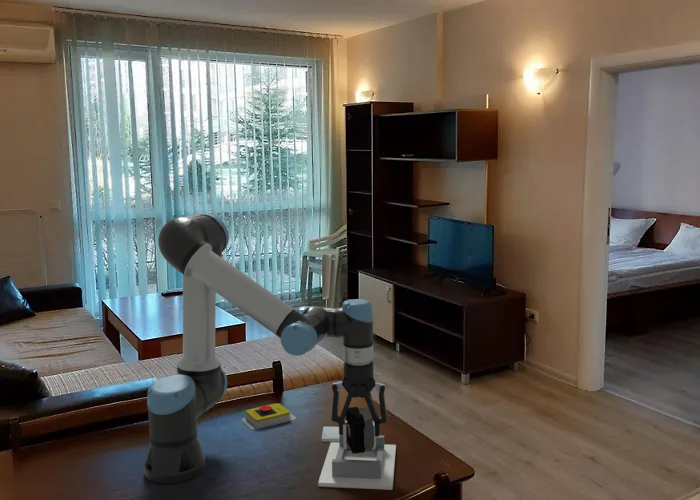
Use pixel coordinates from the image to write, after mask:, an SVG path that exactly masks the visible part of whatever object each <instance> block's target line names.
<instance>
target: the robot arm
mask: <svg viewBox="0 0 700 500" xmlns="http://www.w3.org/2000/svg"><path fill="white" fill-rule="evenodd" d="M157 239H158V243H157V244H158V248H159V251H160V253H161V255H162V257H163V258H164V260H166V262H167V263H168V264H169V265H170V266H171V267H173V268H174V269H175V270H177V271H178V272H179V273H180V274H181V275H182V357H181V358H180V359H179V360H178V361H177V363H176V374H171V375H170V374H169V375H167V376H166V377H164V376H163V377H161V378H158V379H157V380H155V381H153V383H151V384H150V386H149V388H148V391H147V399H146V406H147V412H148V414H147V415H148V417H147V418H148V427H149V428H148V430H149V433H148V434H149V447H148V451H147V453H146V458H145V462H144V465H143V466H144V467H143V469H144V477H145V478H146V479H147V480H148V481H150V482H152V483H155V484H161V485H162V484H163V485H167V484H168V485H169V484H170V485H172V484H178V483H182V482H184V483H185V482H187V481H189V480H193V479H194V478H196V477H198V476H200V474H202V473H203V472H204V471H205V469H206V456H205V454H204V450H203V449H202V448H203V447H202V446H201V443H200V442H199V441H200V440H199V439H198V428H197V427H198V426H197V419H198V418H200V416H202V415H203V414H205V413H206V412H207V411H208V410H210V409H211V408H213V407H214V406H215V405H217V404H218V403H219V402H220V401H221V399H222V398H223V397H224V395H225V394H226V391H227V388H228V377H227V374H226V372H225V371H224V370H223V367H222V366H221V365H222V363H221V360H220V359H219V358H218V357H217V356H216V309H217V307H216V305H217V304H216V303H217V301H216V300H217V299H216V298H217V297H216V295H218V296H221V298H223V299H224V300H226V301H228V302H229V303H230V304H232V305H233V306H234V307H236V308H237V309H238V310H240V311H241V312H242V313H244V314H246V315H247V316H248V317H250V318H251V319H253V320H254V321H255V322H256V323H259V324H260V325H261V326H262V327H263V328H265V329H266V330H268V331H269V332H271V333H272V334H274V335H275V336H277V337H278V338H279V339H280V343H281V345H282V348H283V349H284V351H285V352H286V353H288V354H289V355H291V356H297V357H299V356H302V355H305V354H306V353H309V352H311V350H313V349H314V348H315V347H316V346H317V344H319V343H320V342H321V341H322V340H323V339H324V338H338V339H340V338H341V339H342V341H343V343H342V345H343V347H342V348H343V350H342V354H343V361H344V362H343V379H342V381H333V383H332V386H331V389H332V394H333V397H332V398H333V399H332V411H331V421H332V422H334V423H337V424H338V427H339V435H342V436H343V449H347V445H348V438H347V421H346V413H347V411H348V408H350V405H351V402H352V398H353V399H355V398H362V399H364V401H365V402H366V404H367V407H368V409H369V411H370V414H371V417H372V421H373V427H374V447H373V448H372V450H375V447H376V437H379V435H381V434H380V433H381V428H380V427H381V424H386V423H387V420H388V419H387V418H388V415H387V407H386V399H385V397H386V396H385V390H386V383H385V382H381V383H380V382H376V380H375V378H374V361H373V360H374V316H373V313H374V312H373V304H372V302H371V301H369V300H368V299H363V298H356V299H355V298H353V299H347V300H344V301H343V302H342V306H341V307H332V306H331V307H330V306H316V305H309V306H307V305H306V306H304V305H303V306H300V307H299V308H297V310H296V309H295V308H294V307H293V306H291V305H289V304H288V303H286V302H285V301H284V300H282V299H281V298H279V297H278V296H276V295H275V294H273V293H272V292H271V291H270V290H268V289H266V288H265V287H264V286H262V285H261V284H259V283H258V282H257V281H255V280H253V279H252V278H251V277H249V276H248V275H247V274H246V273H244V272H243V271H241V270H240V269H238V268H237V267H235V266H234V265H232V264H231V263H229V262H228V261H227V260H225V259H224V258H223V252H224V251H225V250H226V249H227V247H228V244H229V240H230V235H229V230H228V228H227V225H226V223H224V222H223V220H222V219H221V218H219V216H217V215H215V214H211V213H202V212H201V213H195V214H190V215H186V216H180V217H179V216H178V217H175V218H173V219H170V220H169V221H168V222H166V223H165V224H164V225H163V226H162V228H161V229H160V231H159V234H158V238H157ZM342 387H343V389H344V390H345V391H346V393H347V396H346V400H345V401H344V402H345V403H344V405H343V408H342V411H341V413H340V415H339V413H338V412H339V402H340V392H341V390H342ZM374 388H375V389H376V392H377V393H378V401H379V409H380V416H379V413H378V410H377V408H376V406H375V402H374V400H373V398H372V394H371V392H372V391H373V389H374Z"/></svg>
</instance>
